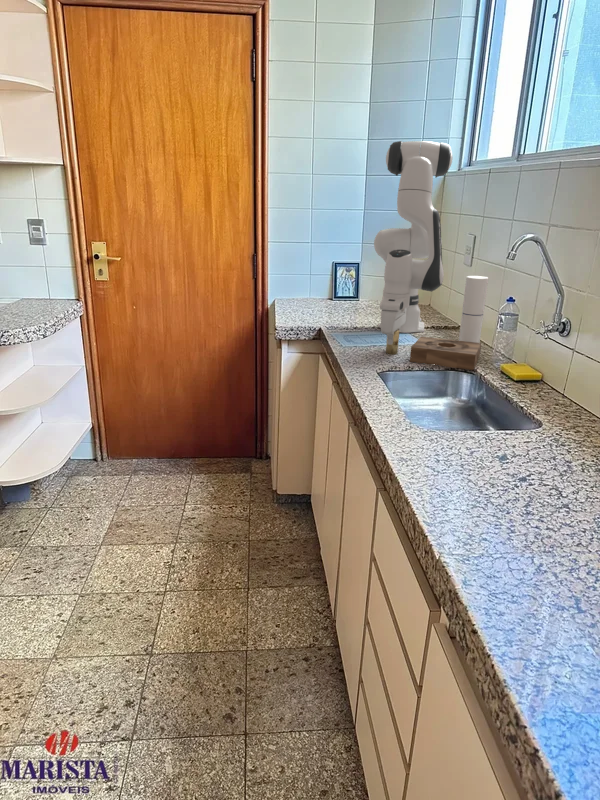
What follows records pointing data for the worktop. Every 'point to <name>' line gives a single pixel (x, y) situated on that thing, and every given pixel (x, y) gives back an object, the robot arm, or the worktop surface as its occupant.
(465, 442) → the worktop surface
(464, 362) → the block
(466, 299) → the cylindrical container
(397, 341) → the bushing
